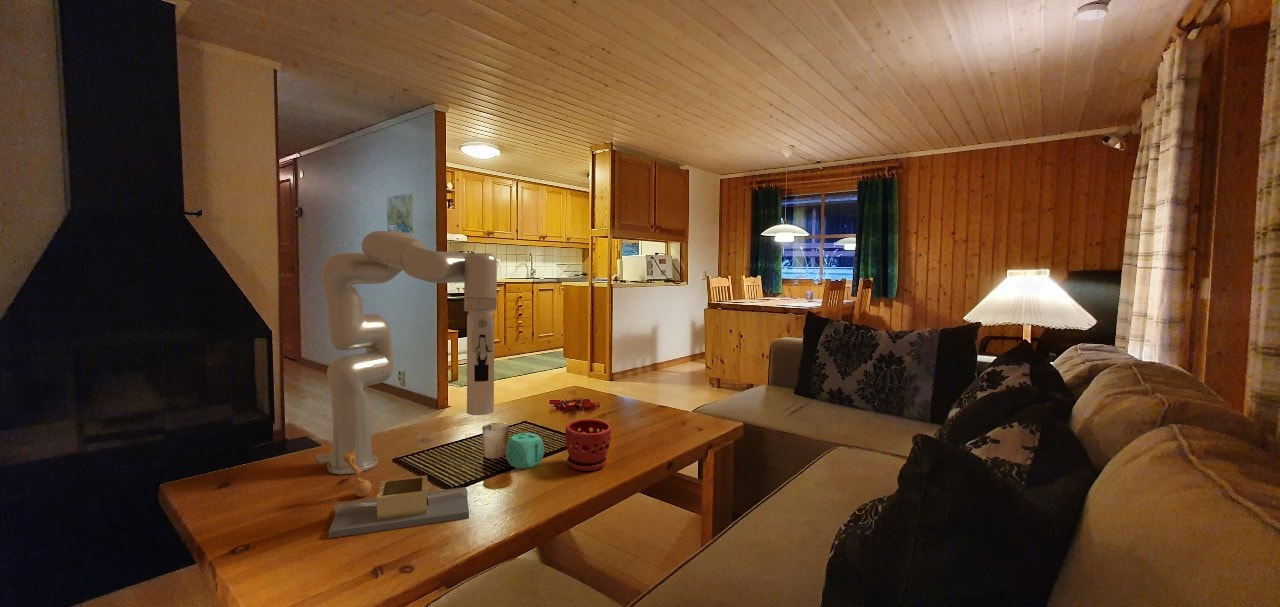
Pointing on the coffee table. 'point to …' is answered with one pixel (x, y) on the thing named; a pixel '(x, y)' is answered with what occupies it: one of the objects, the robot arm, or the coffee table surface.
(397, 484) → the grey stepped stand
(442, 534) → the coffee table surface
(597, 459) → the plant pot
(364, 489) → the figurine
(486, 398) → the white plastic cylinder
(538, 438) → the decorative dice
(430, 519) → the base plate
